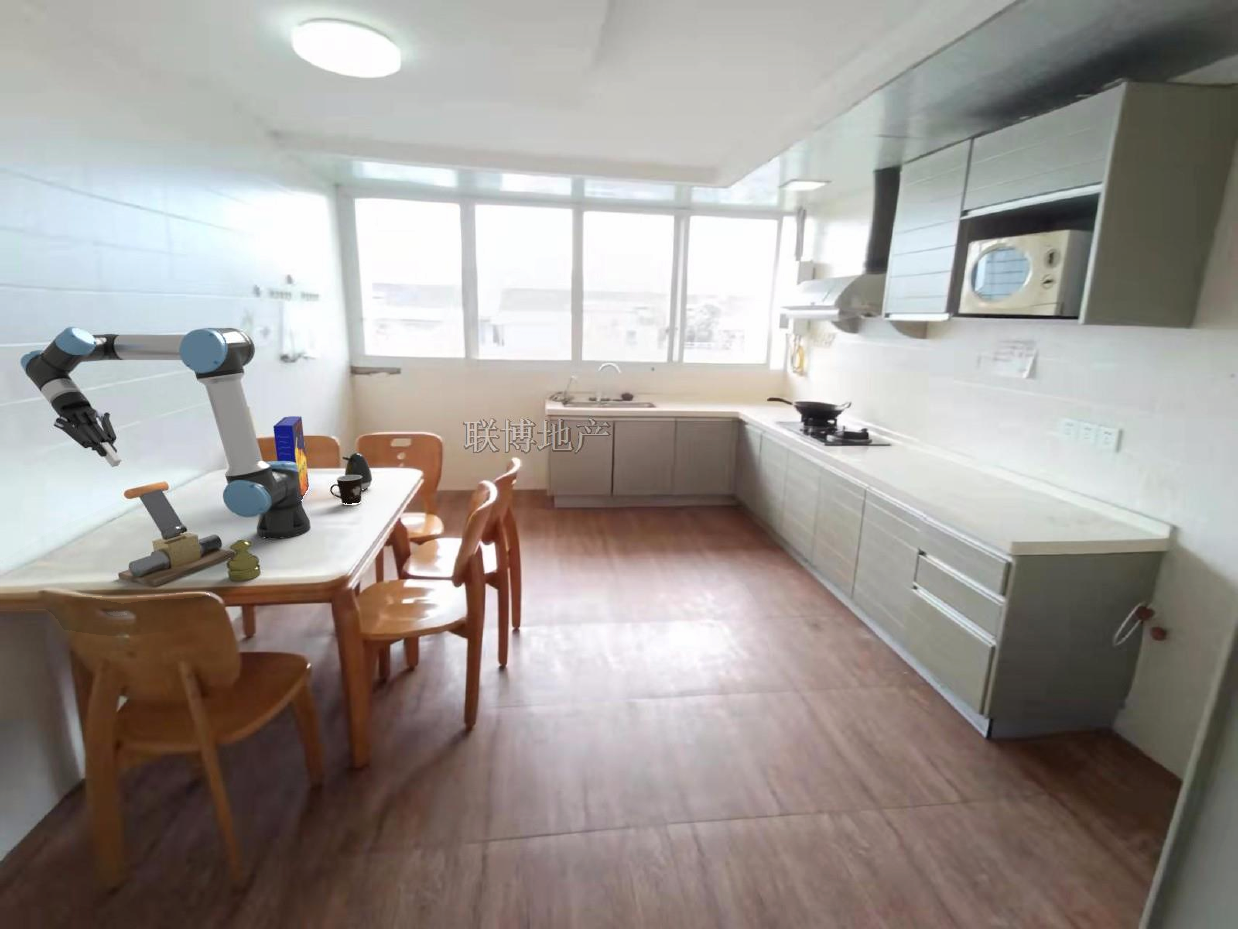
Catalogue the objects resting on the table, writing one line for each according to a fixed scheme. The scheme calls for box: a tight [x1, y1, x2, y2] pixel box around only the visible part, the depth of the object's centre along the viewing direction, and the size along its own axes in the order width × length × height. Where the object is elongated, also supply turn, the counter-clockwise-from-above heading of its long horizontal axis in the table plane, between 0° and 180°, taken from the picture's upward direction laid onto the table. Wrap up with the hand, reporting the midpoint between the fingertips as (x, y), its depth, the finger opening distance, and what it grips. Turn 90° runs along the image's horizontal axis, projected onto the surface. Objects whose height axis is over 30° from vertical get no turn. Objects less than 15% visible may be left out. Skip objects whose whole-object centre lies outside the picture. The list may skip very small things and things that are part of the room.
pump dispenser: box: [342, 452, 373, 490], centre depth 242 cm, size 10×10×15 cm
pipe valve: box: [117, 532, 236, 588], centre depth 164 cm, size 14×22×8 cm, turn 160°
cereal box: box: [273, 415, 310, 500], centre depth 228 cm, size 22×6×30 cm, turn 19°
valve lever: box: [123, 481, 188, 540], centre depth 162 cm, size 3×10×16 cm
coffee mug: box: [329, 474, 362, 504], centre depth 223 cm, size 12×9×10 cm
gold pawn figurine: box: [226, 539, 261, 582], centre depth 159 cm, size 7×7×10 cm
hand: (116, 463), depth 165 cm, fingers closed
